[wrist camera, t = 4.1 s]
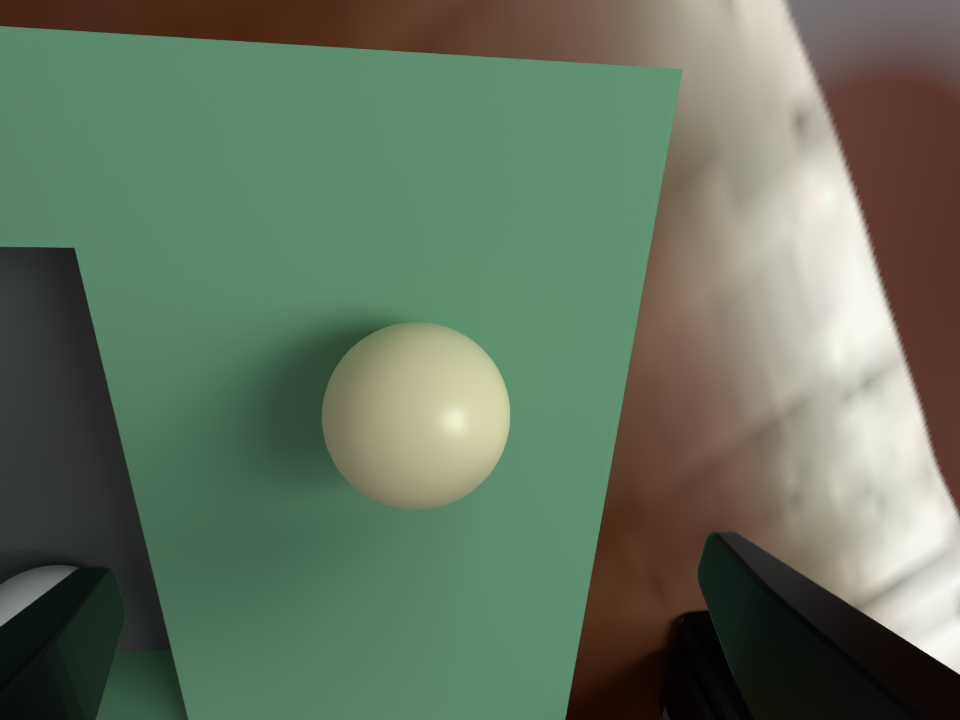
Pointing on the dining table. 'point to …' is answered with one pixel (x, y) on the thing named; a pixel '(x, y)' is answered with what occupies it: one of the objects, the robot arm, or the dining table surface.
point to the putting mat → (313, 357)
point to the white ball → (29, 588)
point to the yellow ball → (416, 416)
